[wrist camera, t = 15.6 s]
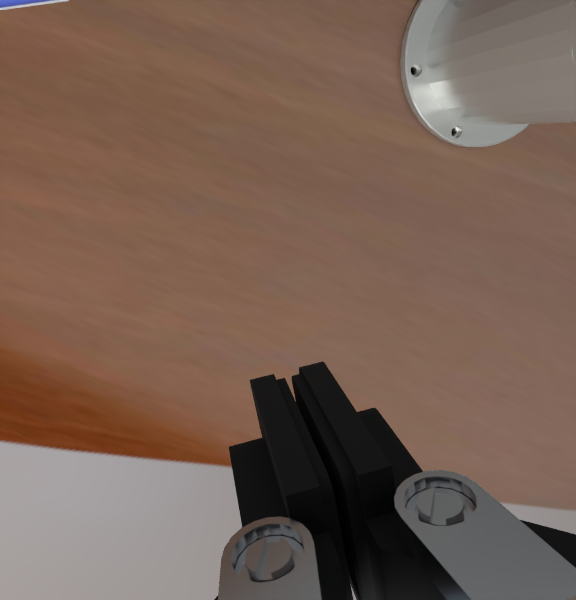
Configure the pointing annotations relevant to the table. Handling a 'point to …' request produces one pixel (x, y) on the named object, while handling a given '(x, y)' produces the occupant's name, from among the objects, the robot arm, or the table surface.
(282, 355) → the table surface
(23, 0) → the hard drive
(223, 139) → the table surface
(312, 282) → the table surface
